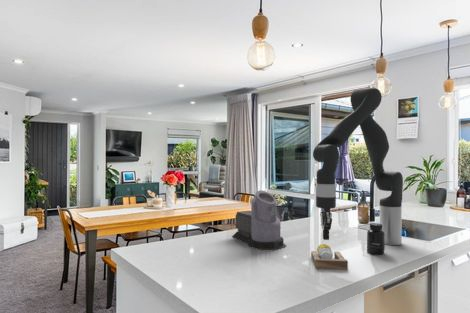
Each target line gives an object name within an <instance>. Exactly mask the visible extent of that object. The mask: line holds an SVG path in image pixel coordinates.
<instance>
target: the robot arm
mask: <svg viewBox="0 0 470 313" xmlns="http://www.w3.org/2000/svg"><path fill="white" fill-rule="evenodd" d="M381 102H382V92H381V91H380V90H379V89H378V88H376V87H367V88H366V87H365V88H357V89H354V90H353V91H352V93H350V105H351V107H352V110H353V112H351V113H350V114H348V115H347V116H345V117H344V118H342V119H341V120H340V121H339V122H337V124H336V125H335V126H334V127H333V129H332V130H331V131H330V133H329V134H328V135H327V136H326V137H324V138H323V139H322V140H321V141H320V142H319V143H317V145H316V146H315V147H314V149H313V152H312V157H313V159H314V161H316V162H317V163H323V164H322V167H321V168H319V169H317V171H316V187H315V207H316V208H319V209H321V211H319V216H320V223H321V224H320V226H321V229H322V239H323V240H324V241H329V240H330V230H331V227H332V223H333V218H332V217H333V213H332V212H331V209H335V208H336V207H337V203H336V202H337V200H336V199H337V194H336V192H337V190H336V188H337V187H336V171H337V168H338V164H339V160H340V152H339V148H341V147H342V146H344V145H345V144H346V142H347V141H348V139H349V138H350V137H351V135H352V134H353V133H354V132H355V130H356V129H357V128H358V127H360V128H359V129H360V130H361V133H362V136H363V141H364V143H365V146H366V149H367V153H368V156H369V160H370V163H371V166H372V167H371V168H372V172H373V176H374V182H375V185H376V187H377V189H378V190H379V191H385V192H391V193H390V195H389V196H386V197H383V198H380V199H379V224H382V231H383V232H384V233H385V245H390V246H398V245H399V246H400V245H402V244H403V243H402V236H403V235H402V234H403V233H402V228H403V227H402V221H403V220H402V215H403V213H402V207H403V206H402V203H403V188H404V177H403V175H402V173H401V172H400V171H389V170H385V168H384V161H385V159H386V156H387V154H388V152H389V149H390V144H389V141H388V140H389V139H388V136H387V134H386V131H385V130H384V129H383V127H382V126H381V125H380V124H379V123H378V122H377V121H376V120H375V119H374V118H373V117H372V115H371V114H373V112H375V111H376V110H377V109H378V108H379V106H380V105H381Z"/></svg>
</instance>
